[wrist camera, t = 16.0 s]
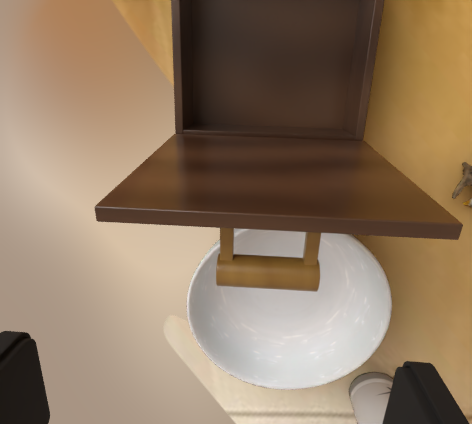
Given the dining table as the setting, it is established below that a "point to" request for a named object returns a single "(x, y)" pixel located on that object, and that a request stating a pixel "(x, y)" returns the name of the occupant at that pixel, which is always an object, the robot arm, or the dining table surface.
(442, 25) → the dining table surface
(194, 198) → the lid
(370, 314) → the serving bowl
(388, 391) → the travel mug
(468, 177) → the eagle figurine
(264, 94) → the box
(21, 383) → the robot arm
